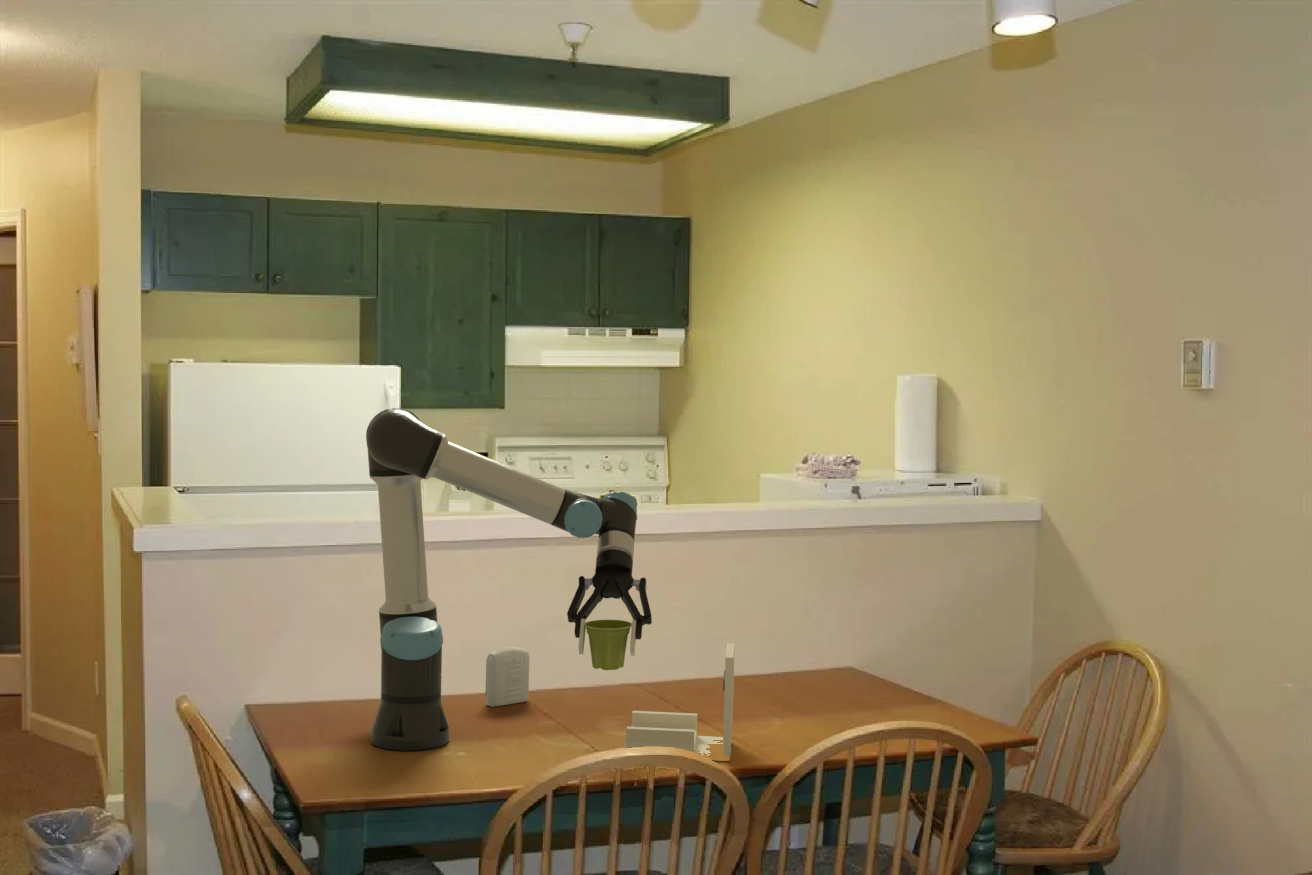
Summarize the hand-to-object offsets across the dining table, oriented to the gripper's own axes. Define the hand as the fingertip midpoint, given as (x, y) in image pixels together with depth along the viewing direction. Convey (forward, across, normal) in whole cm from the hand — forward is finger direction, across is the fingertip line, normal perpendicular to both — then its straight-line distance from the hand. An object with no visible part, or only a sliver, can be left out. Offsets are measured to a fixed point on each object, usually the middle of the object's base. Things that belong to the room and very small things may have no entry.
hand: (606, 651), depth 274 cm
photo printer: (-9, +25, -36) cm, 45 cm away
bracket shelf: (+13, -14, -14) cm, 24 cm away
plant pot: (+1, 0, -5) cm, 5 cm away
